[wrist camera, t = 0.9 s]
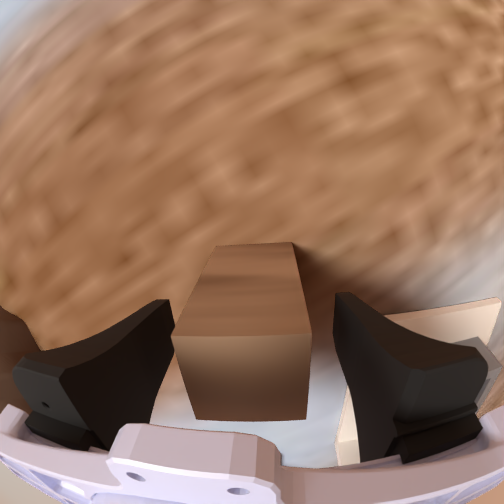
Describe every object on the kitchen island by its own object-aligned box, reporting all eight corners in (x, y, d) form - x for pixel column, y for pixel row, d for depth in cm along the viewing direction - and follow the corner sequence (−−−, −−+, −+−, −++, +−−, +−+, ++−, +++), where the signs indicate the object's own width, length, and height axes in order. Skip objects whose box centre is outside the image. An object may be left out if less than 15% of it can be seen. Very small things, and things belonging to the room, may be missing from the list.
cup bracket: (445, 417, 20) (462, 452, 16) (334, 442, 21) (341, 486, 17) (496, 297, 16) (533, 331, 11) (358, 318, 17) (382, 373, 12)
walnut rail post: (292, 308, 17) (306, 419, 9) (224, 311, 17) (196, 419, 9) (291, 242, 15) (312, 332, 8) (215, 246, 15) (170, 335, 8)
